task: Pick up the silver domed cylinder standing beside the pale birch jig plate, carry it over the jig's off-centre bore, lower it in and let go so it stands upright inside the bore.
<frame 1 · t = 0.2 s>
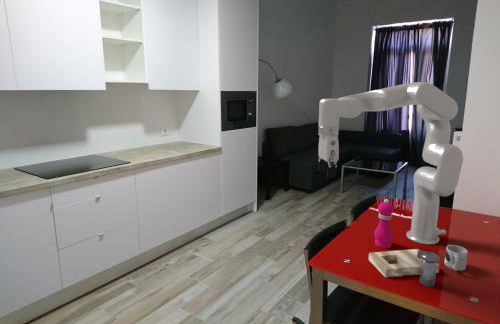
hand: (326, 174, 129), 31 cm above the table, tool pointing down, fingers open, 9 cm apart
jig: (402, 266, 120), on the table
silver domed cylinder: (426, 282, 109), on the table
pepper mill: (382, 245, 136), on the table
mug: (454, 268, 118), on the table
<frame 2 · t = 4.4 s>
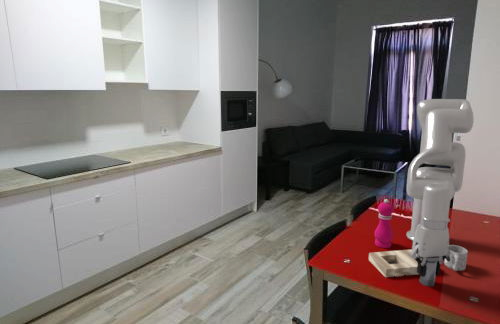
hand: (427, 273, 108), 3 cm above the table, tool pointing down, fingers closed on silver domed cylinder, 4 cm apart
silver domed cylinder: (426, 282, 109), on the table, touching gripper
everything else where it was.
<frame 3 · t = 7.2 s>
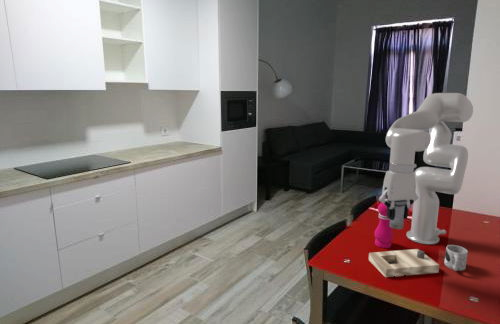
hand: (397, 217, 115), 19 cm above the table, tool pointing down, fingers closed on silver domed cylinder, 4 cm apart
silver domed cylinder: (396, 226, 116), point 16 cm above the table, touching gripper
everything else where it was.
when the fingers open (5 cm above the table, at t = 10.3 s): silver domed cylinder drops 1 cm, resting on jig.
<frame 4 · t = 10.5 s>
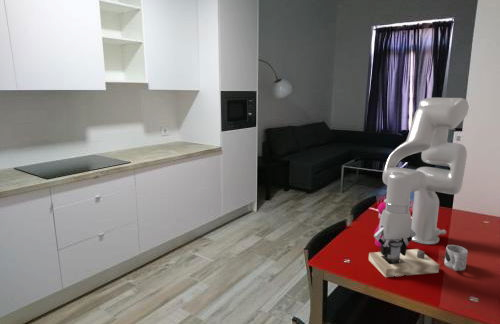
hand: (393, 254, 118), 5 cm above the table, tool pointing down, fingers open, 6 cm apart
silver domed cylinder: (392, 266, 119), resting on jig
everything else where it was.
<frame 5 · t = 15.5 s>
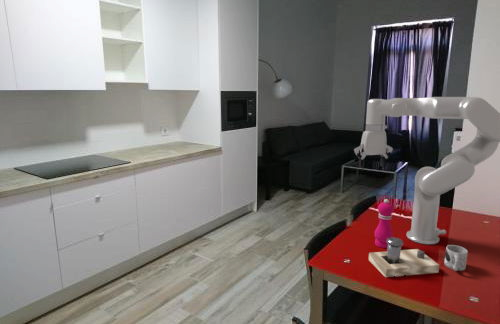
hand: (372, 167, 143), 30 cm above the table, tool pointing down, fingers open, 9 cm apart
nothing on the table moved.
at the end: silver domed cylinder 0.1 cm from the target spot on the jig, point 0.4 cm above the jig's base; silver domed cylinder tilted 1°; the gripper is holding nothing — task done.
